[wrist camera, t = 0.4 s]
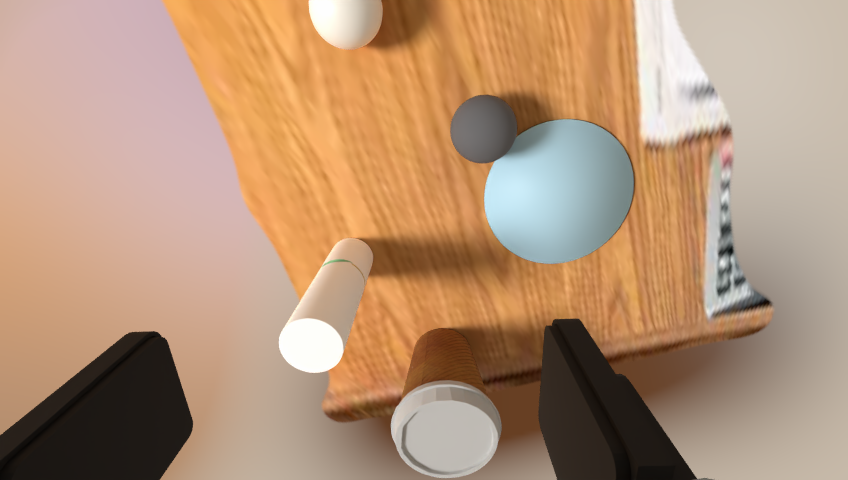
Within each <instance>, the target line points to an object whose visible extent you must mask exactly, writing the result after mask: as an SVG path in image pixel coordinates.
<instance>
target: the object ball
mask: <svg viewBox="0 0 848 480" xmlns="http://www.w3.org/2000/svg"><path fill="white" fill-rule="evenodd" d="M450 132H451V139H452V142H453V145H454V147H455V148H456V150H457V151H458V152H459V153H460V154H461V155H462V156H463V157H464V158H466V159H467V160H469V161H472V162H475V163H489V162H493V161H496V160H498V159H500V158H501V157H503V156H504V155H505V154H506V153H507V152H508V151H509V150H510V148H511V147H512V145H513V143H514V141H515V138H516V134H517V121H516V117H515V114H514V112H513V110H512V109H511V107H510V106H509V105H508V104H507V103H506V102H505V101H503V100H502V99H500V98H498V97H495V96H492V95H479V96H475V97H472V98H470V99H468V100H467V101H465V102H464V103H463V104H462V105H461V106H460V107H459V108H458V109H457V111H456V112H455V114H454V116H453V119H452V122H451V131H450Z"/></svg>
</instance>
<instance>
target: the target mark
mask: <svg viewBox="0 0 848 480" xmlns="http://www.w3.org/2000/svg"><path fill="white" fill-rule="evenodd" d="M633 189H634V178H633V170H632V166H631V163H630V160H629V157H628V155H627V153H626V151H625V150H624V148H623V146H622V145H621V144H620V143H619V141H618V140H617V139H616V138H615V137H614V136H612V135H611V134H610V133H609V132H607V131H606V130H604V129H603V128H601V127H599V126H597V125H595V124H592V123H589V122H585V121H581V120H574V119H560V120H553V121H548V122H545V123H541V124H539V125H536V126H534V127H531V128H530V129H528V130H526V131H524V132H523V133H521V134H520V135H518V136H517V137H516V138H515V141H514V143H513V145H512V147H511V148H510V150H509V151H508V152H507V153H506V154H505V155H504V156H503V157H501V158H500V159H498V160H496V161H495V162H494V164H493V166H492V168H491V170H490V172H489V175H488V178H487V181H486V186H485V194H484V204H485V212H486V217H487V220H488V222H489V225H490V227H491V229H492V231H493V233H494V235H495V236H496V237H497V239H498V240H499V241H500V242H501V243H502V244H503V245H504V246H505V247H506V248H507V249H508V250H510V251H511V252H512V253H514V254H516V255H517V256H519V257H521V258H524V259H526V260H529V261H533V262H537V263H545V264H556V263H564V262H569V261H573V260H576V259H579V258H581V257H584V256H586V255H588V254H590V253H592V252H593V251H595V250H596V249H598V248H599V247H601V246H602V245H603V244H604V243H606V242H607V241H608V240H609V239H610V238H611V237H612V236H613V235H614V233H615V232H616V231H617V230H618V228H619V227H620V225H621V224H622V222H623V221H624V219H625V217H626V215H627V213H628V211H629V208H630V205H631V201H632V196H633Z"/></svg>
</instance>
